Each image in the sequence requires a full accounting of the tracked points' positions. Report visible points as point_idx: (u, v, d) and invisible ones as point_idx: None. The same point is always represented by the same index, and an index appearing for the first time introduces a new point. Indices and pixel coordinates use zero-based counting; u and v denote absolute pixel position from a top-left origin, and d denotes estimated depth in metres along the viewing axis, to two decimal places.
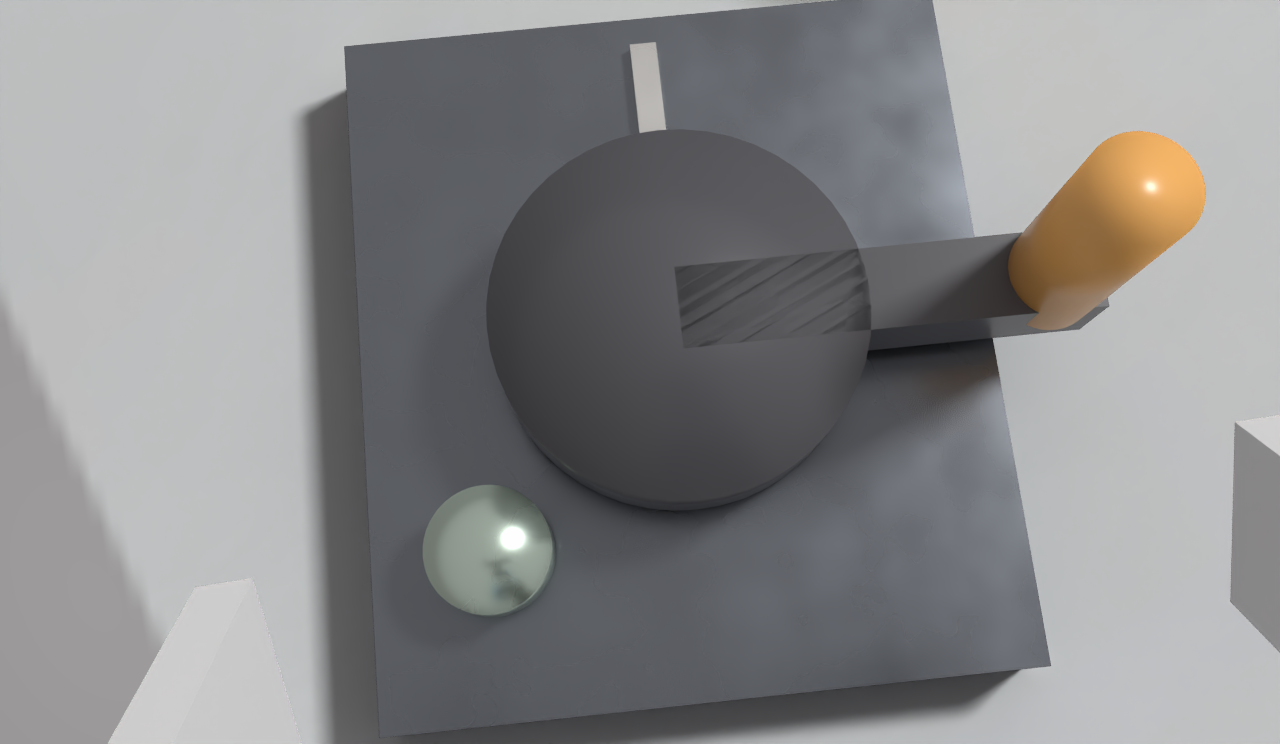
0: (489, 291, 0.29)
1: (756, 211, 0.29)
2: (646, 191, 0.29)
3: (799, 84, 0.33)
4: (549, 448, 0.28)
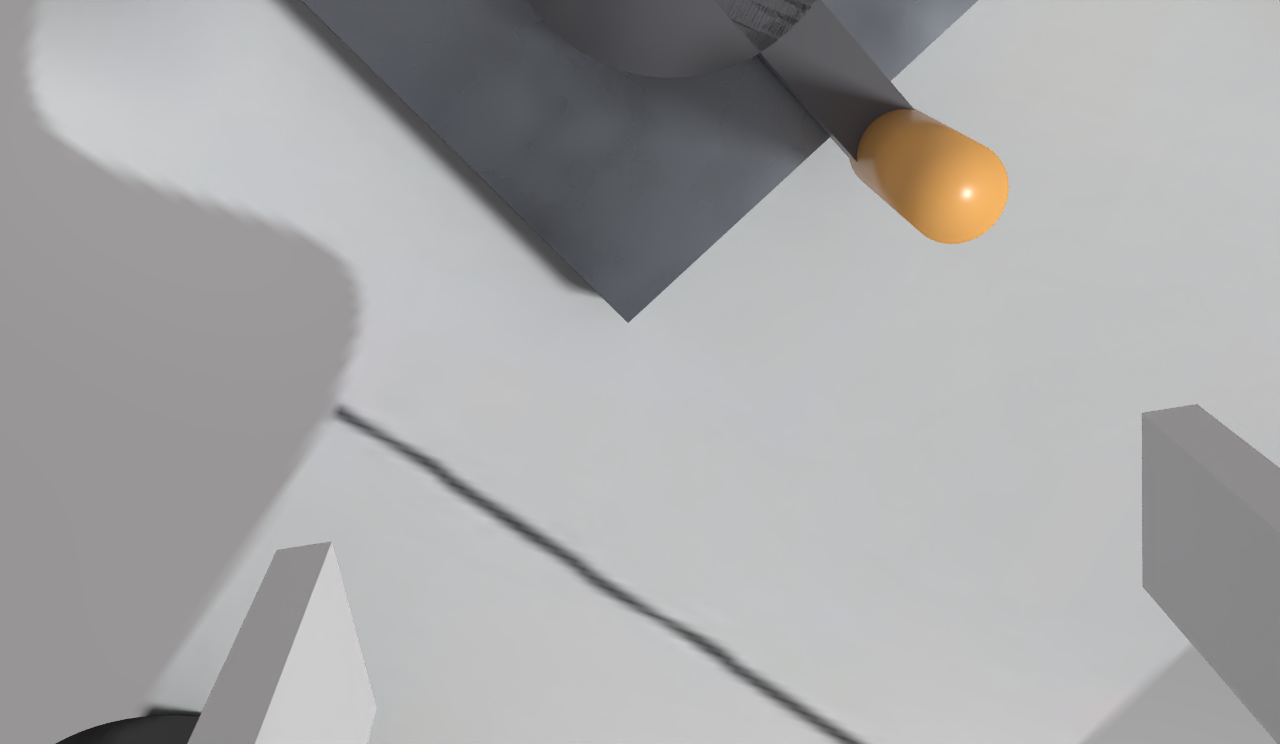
0: None
1: None
2: None
3: None
4: None
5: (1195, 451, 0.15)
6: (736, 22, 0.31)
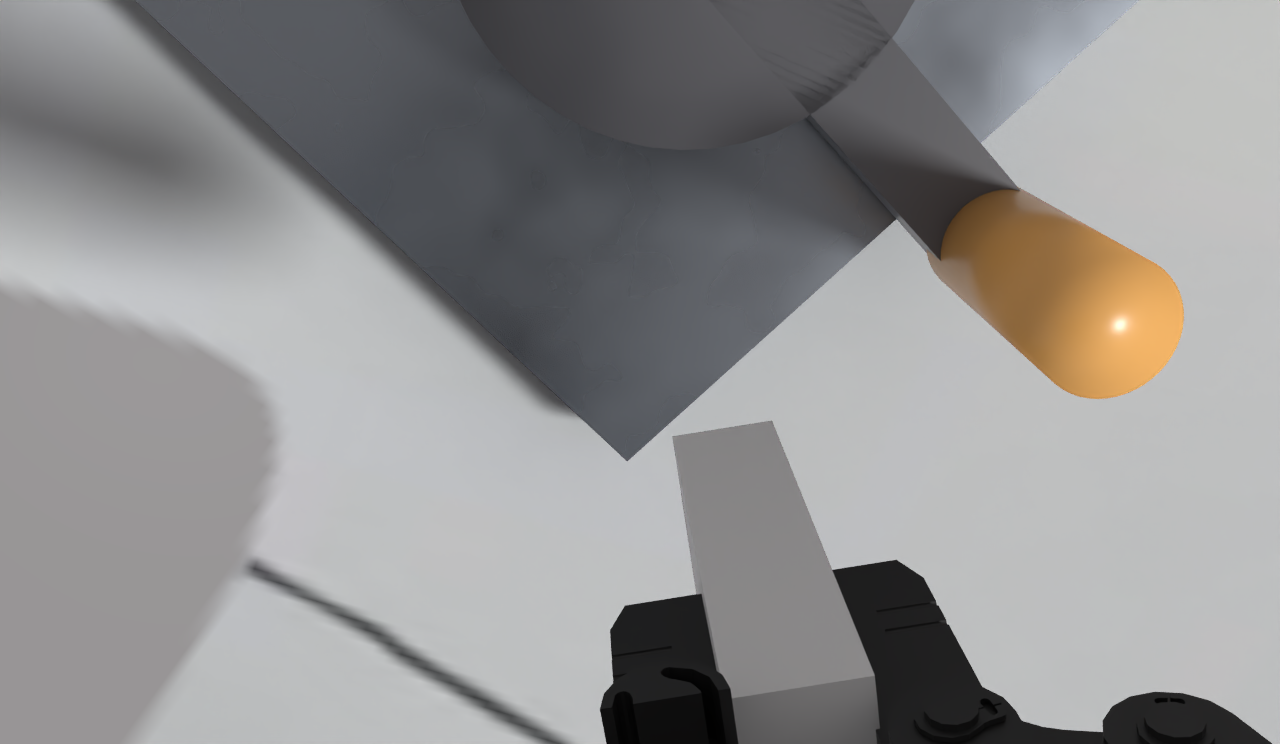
0: None
1: None
2: None
3: None
4: None
5: (739, 465, 0.17)
6: (778, 73, 0.23)
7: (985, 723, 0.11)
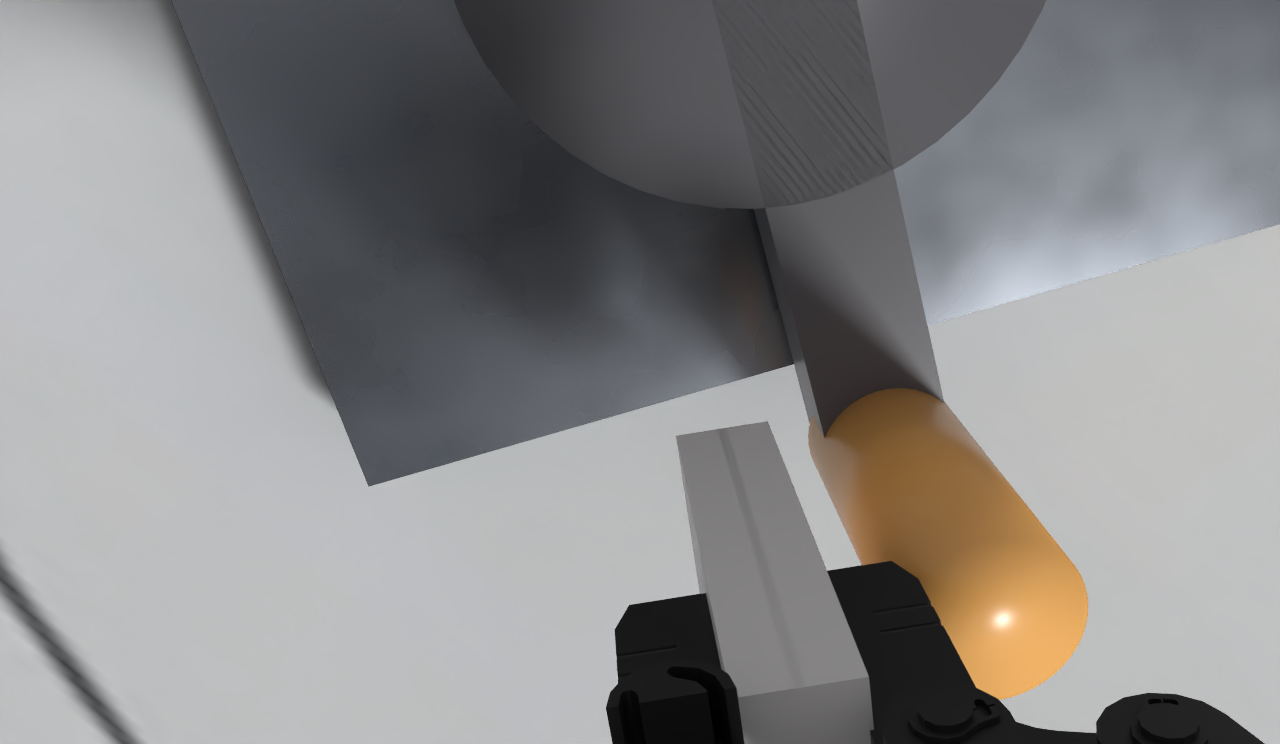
0: None
1: None
2: None
3: (1175, 27, 0.20)
4: None
5: (734, 465, 0.17)
6: (752, 144, 0.18)
7: (979, 725, 0.11)
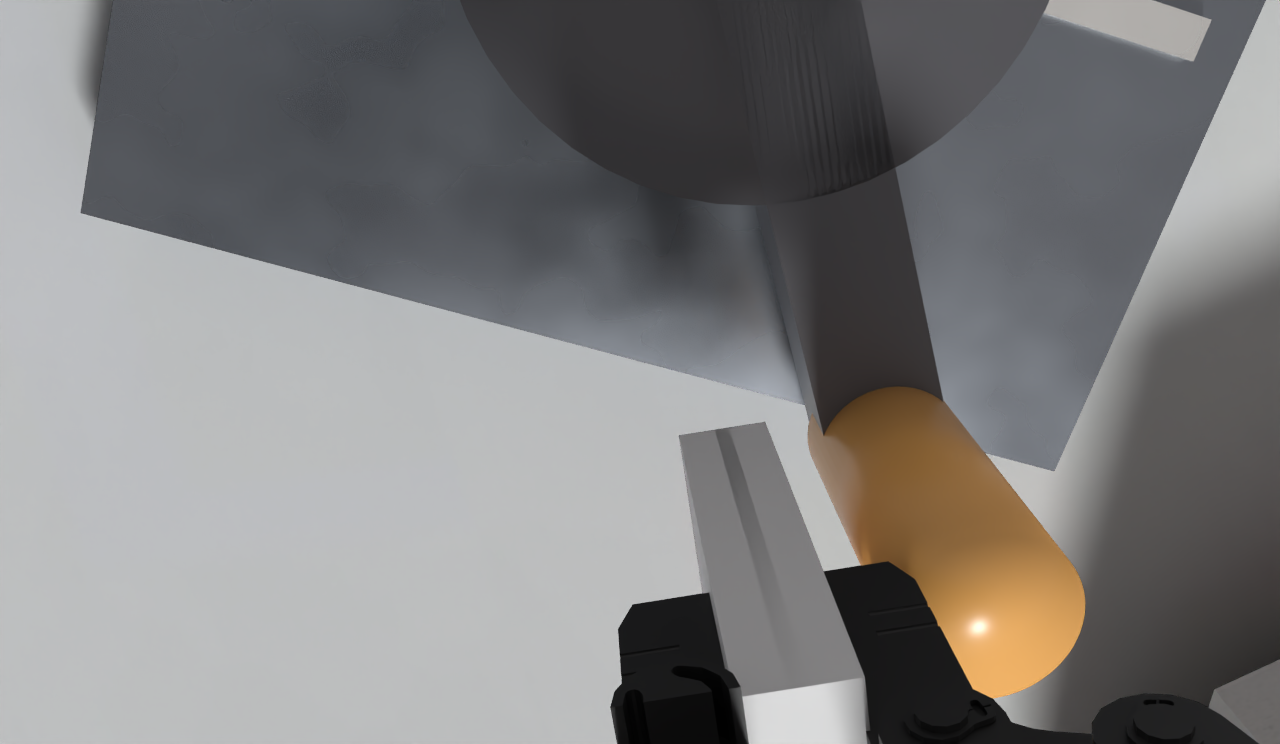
0: None
1: None
2: None
3: (1020, 243, 0.22)
4: None
5: (732, 465, 0.17)
6: (754, 140, 0.18)
7: (975, 725, 0.11)
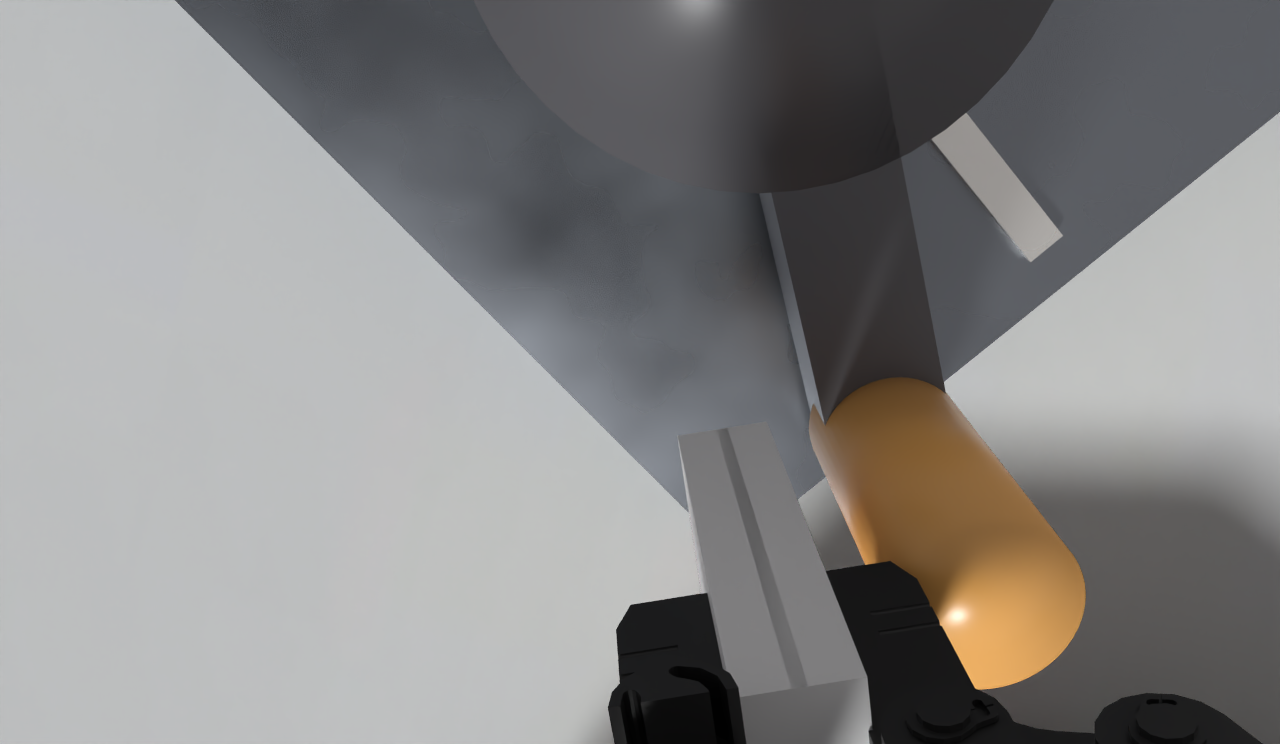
0: None
1: None
2: None
3: None
4: None
5: (733, 465, 0.17)
6: (760, 127, 0.18)
7: (977, 725, 0.11)
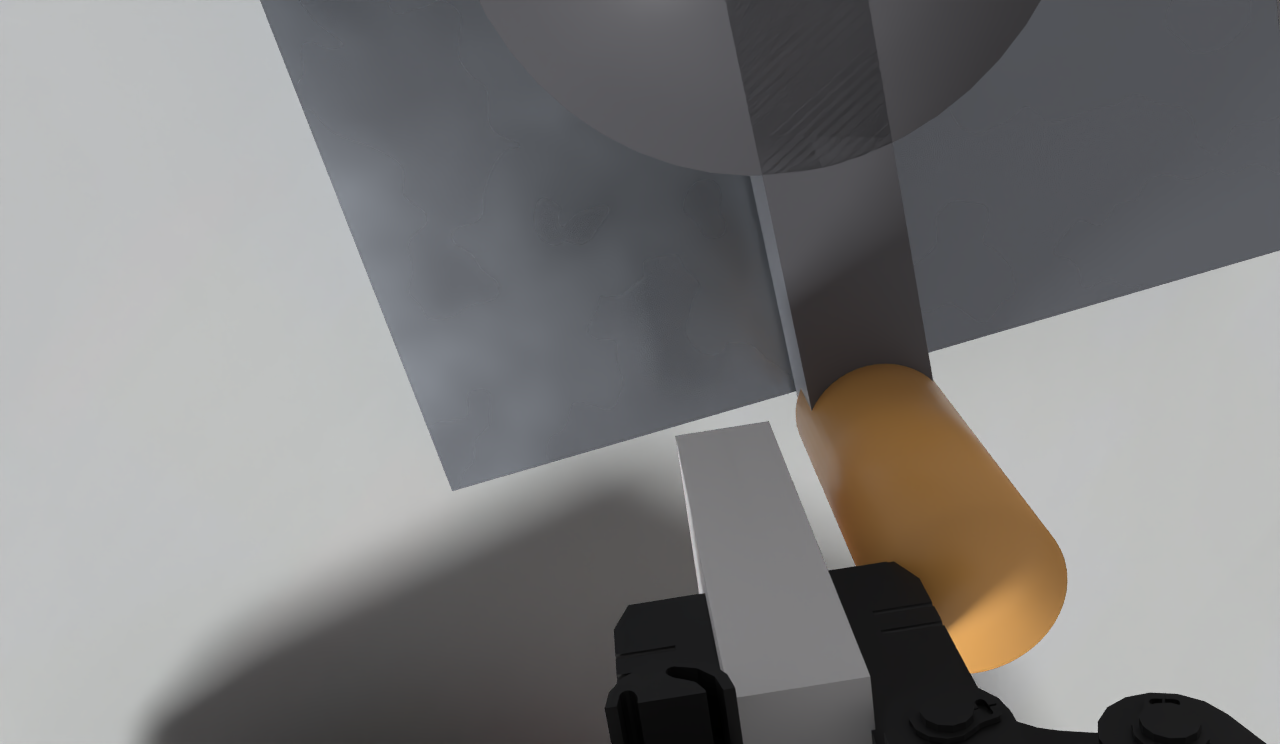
0: None
1: None
2: None
3: (617, 315, 0.22)
4: None
5: (736, 465, 0.17)
6: (752, 109, 0.18)
7: (979, 724, 0.11)
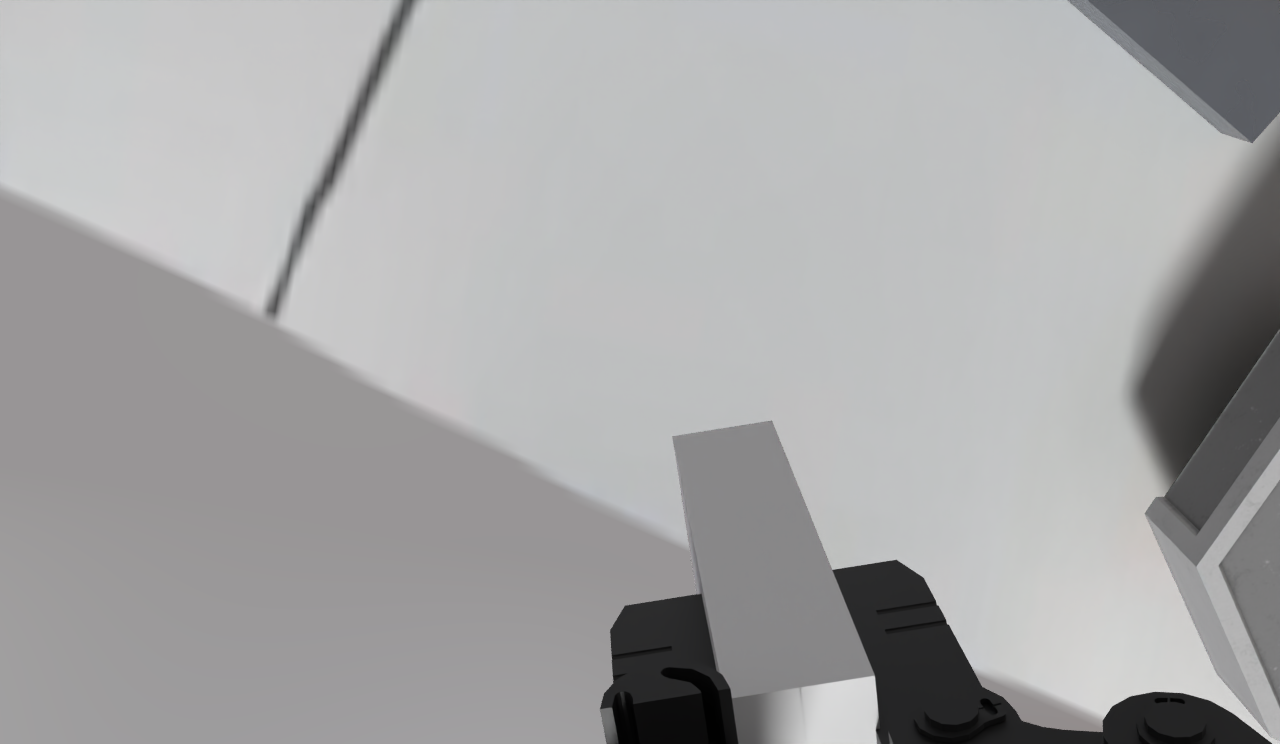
0: None
1: None
2: None
3: None
4: None
5: (739, 464, 0.17)
6: None
7: (985, 724, 0.11)
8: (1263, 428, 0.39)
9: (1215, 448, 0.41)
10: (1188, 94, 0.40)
